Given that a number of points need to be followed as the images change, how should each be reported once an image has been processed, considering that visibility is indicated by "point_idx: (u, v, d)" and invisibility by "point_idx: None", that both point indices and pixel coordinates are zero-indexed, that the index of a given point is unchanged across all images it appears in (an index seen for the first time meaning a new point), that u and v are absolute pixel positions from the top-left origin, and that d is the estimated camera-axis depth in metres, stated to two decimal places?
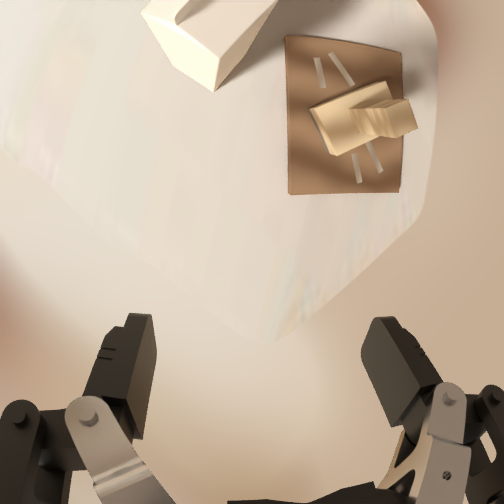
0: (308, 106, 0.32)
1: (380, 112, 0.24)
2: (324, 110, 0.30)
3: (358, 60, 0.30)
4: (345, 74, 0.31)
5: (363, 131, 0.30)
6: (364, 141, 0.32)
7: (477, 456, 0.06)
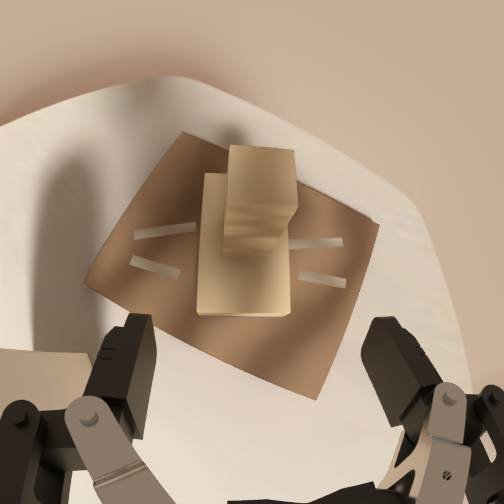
0: (195, 312, 0.22)
1: (235, 213, 0.13)
2: (206, 299, 0.19)
3: (163, 198, 0.24)
4: (175, 229, 0.23)
5: (267, 252, 0.19)
6: (286, 254, 0.21)
7: (477, 456, 0.06)
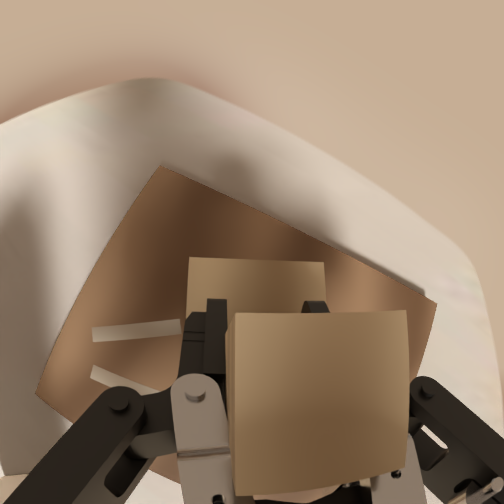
0: None
1: None
2: None
3: (131, 278, 0.15)
4: (149, 329, 0.15)
5: None
6: None
7: (423, 447, 0.07)
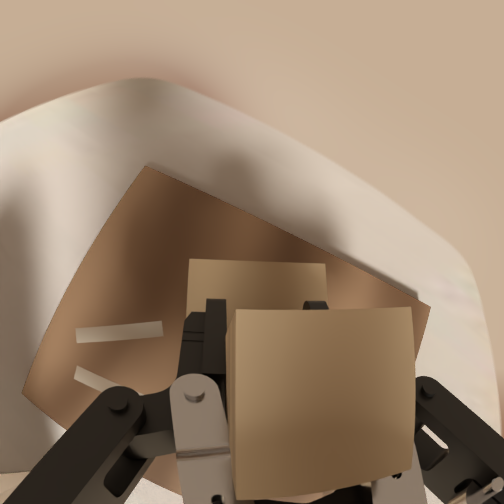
0: None
1: None
2: None
3: (114, 279, 0.15)
4: (131, 331, 0.14)
5: None
6: None
7: (424, 447, 0.07)
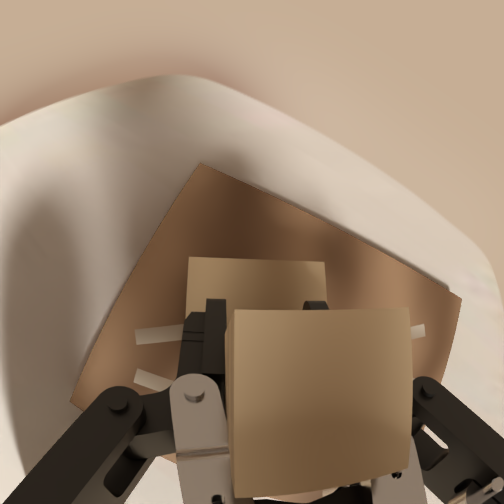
0: None
1: None
2: None
3: (176, 277, 0.16)
4: None
5: None
6: None
7: (424, 447, 0.07)
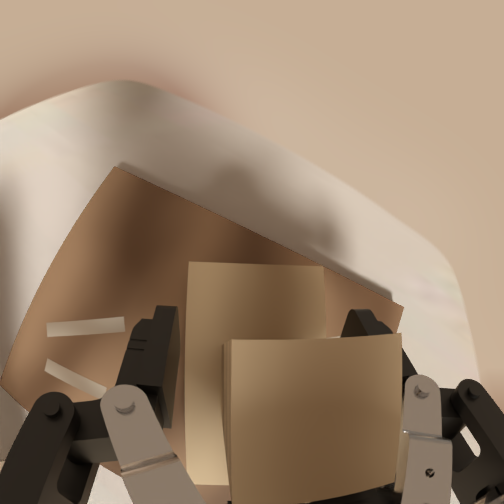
0: None
1: None
2: (201, 470, 0.10)
3: (81, 276, 0.15)
4: (96, 326, 0.14)
5: None
6: None
7: (459, 450, 0.06)
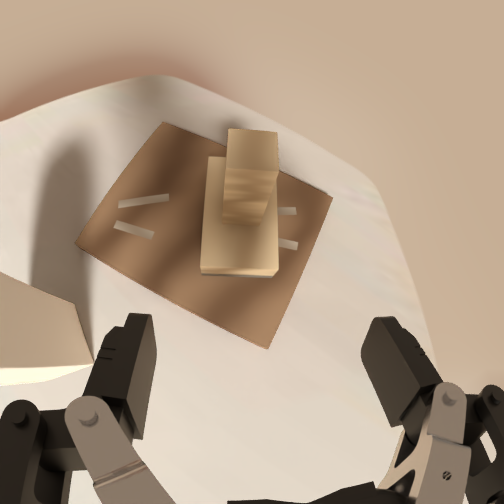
0: (164, 266, 0.25)
1: (232, 178, 0.18)
2: (208, 256, 0.23)
3: (144, 175, 0.28)
4: (151, 199, 0.27)
5: (259, 217, 0.23)
6: (275, 221, 0.25)
7: (477, 456, 0.06)
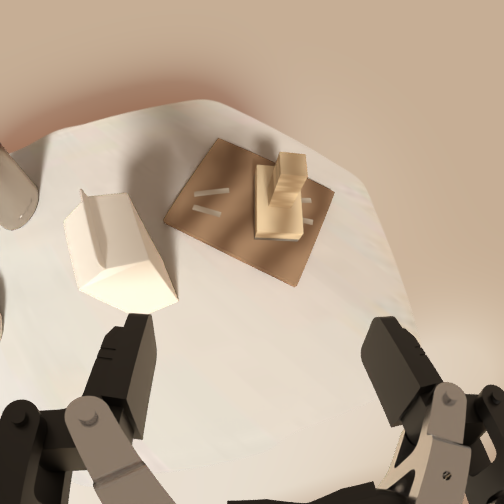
0: (230, 234, 0.41)
1: (282, 179, 0.33)
2: (262, 225, 0.38)
3: (210, 175, 0.43)
4: (217, 191, 0.43)
5: (292, 202, 0.38)
6: (300, 205, 0.40)
7: (477, 456, 0.06)
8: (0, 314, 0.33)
